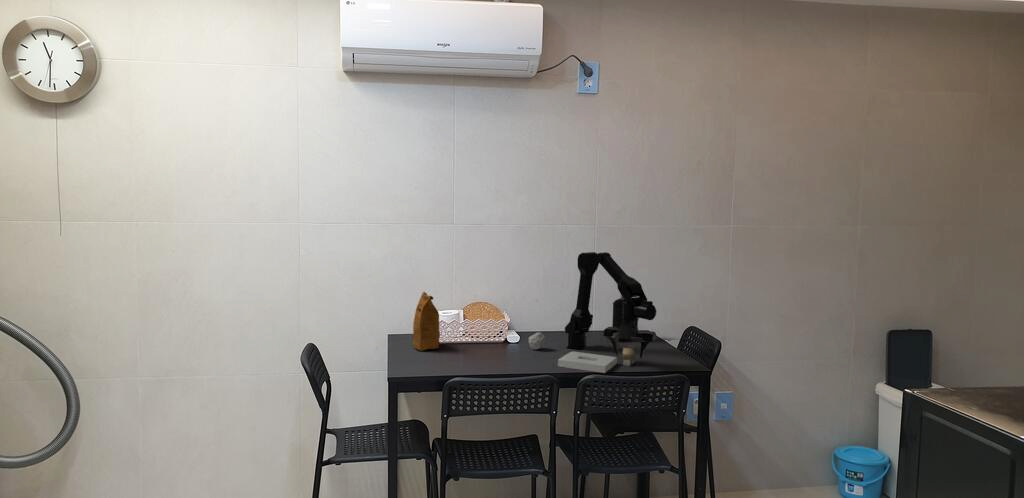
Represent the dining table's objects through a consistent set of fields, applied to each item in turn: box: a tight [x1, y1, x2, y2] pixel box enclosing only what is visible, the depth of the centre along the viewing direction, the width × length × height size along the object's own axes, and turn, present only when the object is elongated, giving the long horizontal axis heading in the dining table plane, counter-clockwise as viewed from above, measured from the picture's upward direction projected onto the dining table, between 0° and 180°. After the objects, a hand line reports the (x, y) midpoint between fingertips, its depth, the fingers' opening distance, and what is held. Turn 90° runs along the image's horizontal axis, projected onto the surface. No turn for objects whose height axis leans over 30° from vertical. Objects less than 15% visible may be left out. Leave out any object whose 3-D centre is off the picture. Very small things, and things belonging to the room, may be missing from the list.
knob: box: [621, 345, 637, 367], centre depth 267 cm, size 6×5×6 cm
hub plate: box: [557, 350, 618, 374], centre depth 265 cm, size 18×14×2 cm
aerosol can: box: [611, 293, 632, 343], centre depth 305 cm, size 8×8×20 cm
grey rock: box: [527, 332, 546, 351], centre depth 287 cm, size 6×7×7 cm
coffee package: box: [412, 291, 441, 352], centre depth 286 cm, size 10×12×22 cm
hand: (628, 356), depth 267 cm, fingers open, 9 cm apart
